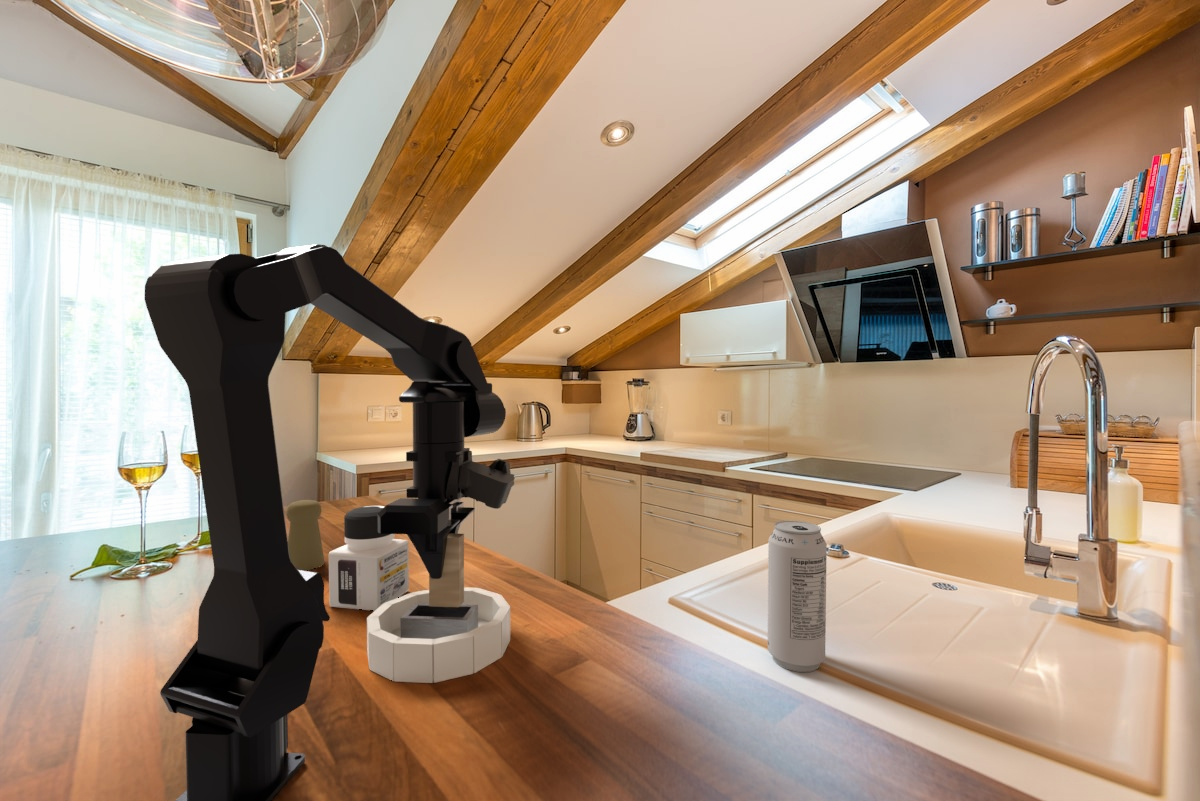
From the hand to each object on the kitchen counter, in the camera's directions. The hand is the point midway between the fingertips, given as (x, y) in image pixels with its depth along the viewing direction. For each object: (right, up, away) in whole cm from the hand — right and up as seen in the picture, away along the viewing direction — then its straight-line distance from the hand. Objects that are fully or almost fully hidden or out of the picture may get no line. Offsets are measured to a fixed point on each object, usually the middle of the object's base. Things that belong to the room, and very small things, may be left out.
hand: (439, 575), depth 63 cm
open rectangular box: (0, -8, 0) cm, 8 cm away
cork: (-31, -8, +28) cm, 43 cm away
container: (-14, -8, +14) cm, 22 cm away
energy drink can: (+40, -9, -3) cm, 41 cm away
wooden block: (+1, -3, 0) cm, 3 cm away
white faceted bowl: (0, -8, 0) cm, 8 cm away
